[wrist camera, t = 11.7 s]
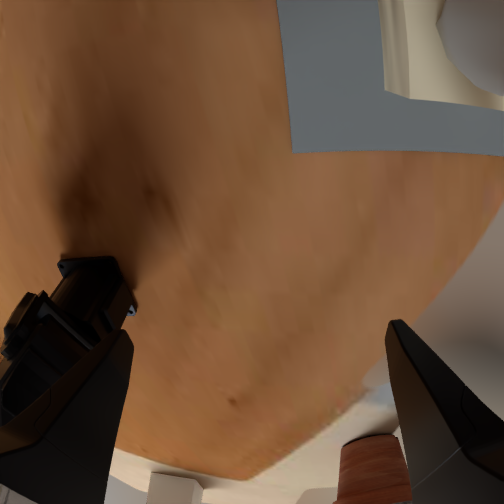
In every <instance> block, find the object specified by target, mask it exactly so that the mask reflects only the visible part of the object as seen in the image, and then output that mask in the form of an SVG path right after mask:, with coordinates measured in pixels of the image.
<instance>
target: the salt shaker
mask: <svg viewBox="0 0 504 504" xmlns="http://www.w3.org/2000/svg"><path fill="white" fill-rule="evenodd" d="M436 28H437V30H438V33H439V36H440V38H441V41H442V44H443V47H444V50H445V53H446V56H447V58H448V59H449V60H450V61H451V62H452V63H453V64H454V65H455V67H456V68H457V69H458V70H459V71H461V72H462V73H463V74H464V75H465V76H466V77H467V78H468V79H469V80H470V81H471V82H472V83H473V84H474V85H475V86H477V87H479V88H480V89H483V90H486V91H488V92H491V93H494V94H496V95H499V96H504V0H445V2H444V6H443V10H442V14H441V17H440V19H439V20H438V22H437V24H436Z"/></svg>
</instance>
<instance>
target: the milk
mask: <svg viewBox="0 0 504 504" xmlns="http://www.w3.org/2000/svg"><path fill="white" fill-rule="evenodd" d="M203 490H204V489H203V488H202V487H201V486H200V485H199V483H198V482H197V481H196V480H195V479H189V478H182V477H176V476H170V475H164V474H158V473H153V472H151V477H150V483H149V489H148V496H147V503H146V504H201V501H202V495H203Z"/></svg>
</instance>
